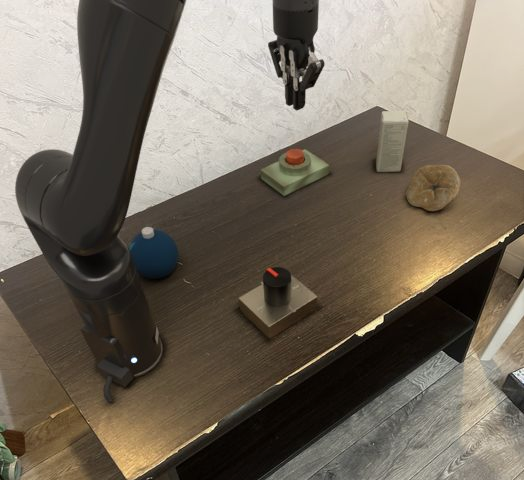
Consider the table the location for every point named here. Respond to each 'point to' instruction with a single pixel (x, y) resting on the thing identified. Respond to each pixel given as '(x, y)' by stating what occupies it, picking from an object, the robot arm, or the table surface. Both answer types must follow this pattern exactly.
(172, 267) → the christmas ornament
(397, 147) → the box
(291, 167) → the button block
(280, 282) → the dial
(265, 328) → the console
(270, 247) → the table surface
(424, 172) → the fossil
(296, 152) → the button
